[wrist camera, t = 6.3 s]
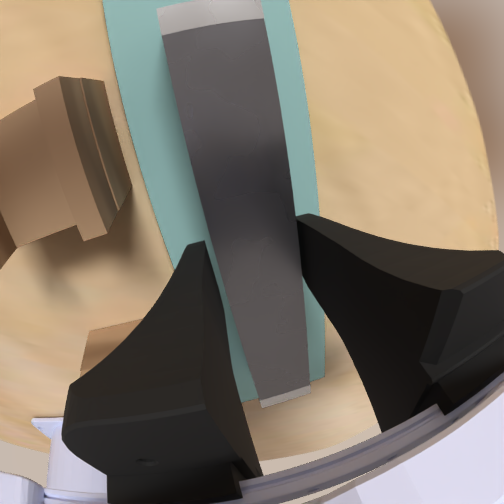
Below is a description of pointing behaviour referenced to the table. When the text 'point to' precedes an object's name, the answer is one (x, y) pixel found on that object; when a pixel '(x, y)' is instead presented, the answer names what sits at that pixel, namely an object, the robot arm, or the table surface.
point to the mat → (177, 158)
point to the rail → (243, 180)
